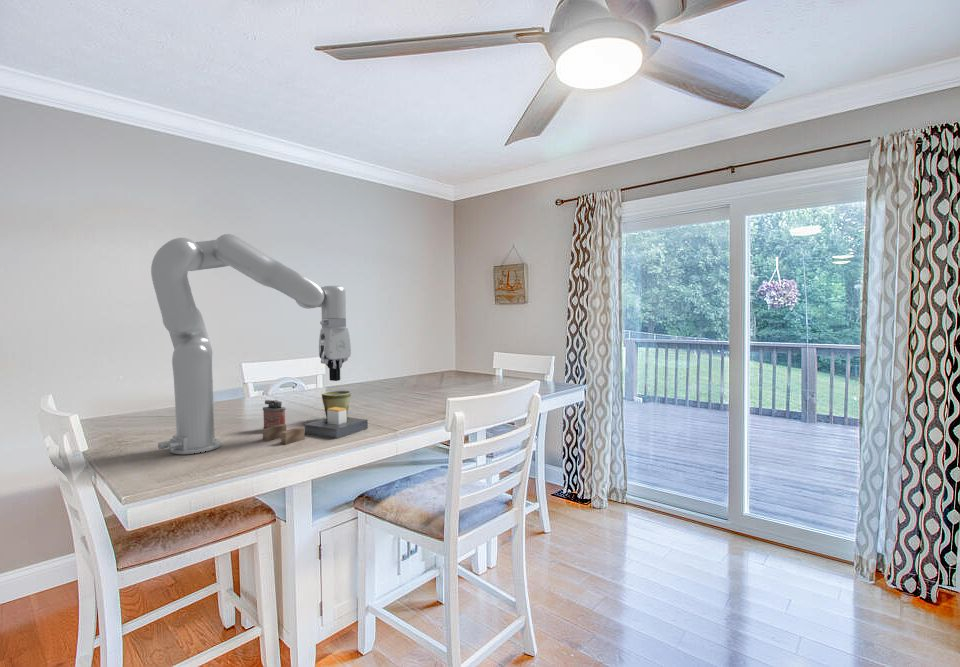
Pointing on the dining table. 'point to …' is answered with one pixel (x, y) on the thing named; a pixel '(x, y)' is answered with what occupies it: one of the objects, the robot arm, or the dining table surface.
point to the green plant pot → (336, 400)
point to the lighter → (273, 413)
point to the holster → (283, 434)
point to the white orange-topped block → (336, 415)
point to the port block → (336, 428)
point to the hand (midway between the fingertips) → (334, 380)
